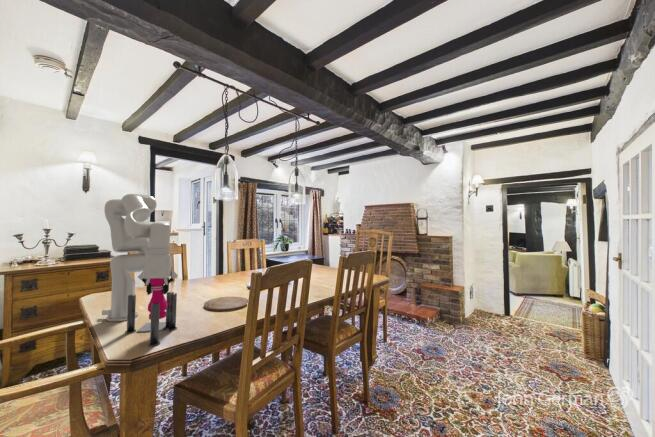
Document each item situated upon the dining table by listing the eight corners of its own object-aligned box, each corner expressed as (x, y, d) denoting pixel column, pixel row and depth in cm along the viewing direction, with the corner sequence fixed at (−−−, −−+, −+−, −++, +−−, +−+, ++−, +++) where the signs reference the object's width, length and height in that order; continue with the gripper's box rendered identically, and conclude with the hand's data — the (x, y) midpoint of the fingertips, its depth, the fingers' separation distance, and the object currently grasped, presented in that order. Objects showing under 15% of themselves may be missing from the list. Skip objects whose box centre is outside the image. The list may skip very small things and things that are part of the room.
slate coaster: (136, 332, 119) (136, 331, 119) (146, 324, 128) (146, 323, 128) (162, 330, 121) (162, 329, 121) (169, 322, 131) (169, 321, 131)
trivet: (234, 313, 147) (234, 310, 147) (194, 310, 152) (194, 306, 152) (255, 301, 171) (255, 298, 171) (220, 298, 176) (220, 295, 176)
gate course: (102, 350, 102) (104, 307, 102) (130, 328, 123) (131, 292, 124) (163, 345, 107) (164, 304, 107) (179, 325, 128) (180, 291, 128)
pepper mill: (153, 314, 119) (153, 269, 120) (170, 314, 120) (171, 269, 120) (143, 320, 112) (144, 272, 113) (162, 320, 113) (162, 272, 113)
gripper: (132, 252, 111) (130, 296, 111) (178, 252, 115) (177, 295, 115) (140, 250, 118) (138, 292, 118) (183, 250, 122) (181, 290, 122)
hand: (157, 293), depth 116 cm, fingers closed on pepper mill, 5 cm apart
